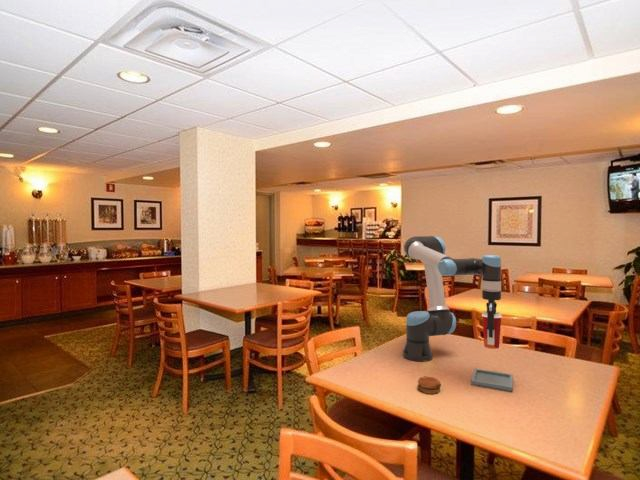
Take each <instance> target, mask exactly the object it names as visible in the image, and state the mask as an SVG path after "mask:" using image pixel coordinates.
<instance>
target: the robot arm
mask: <svg viewBox="0 0 640 480" xmlns="http://www.w3.org/2000/svg"><path fill="white" fill-rule="evenodd" d="M403 250H404V254H405V255H406V256H407V257H409V258H411V259H413V260H419V261H420V262H421V263H422V264H423V265H424V266H423V267H424V273H425V274H424V275H425V281H426V289H427V296H428V297H427V298H428V304H429V308H428V309H427V311H425V310H420V311H419V310H415V311H411V312H409V313H408V314H407V315H406V322H405V323H406V325H405V327H406V333H405V337H406V339H405V343H404V348H403V349H402V356H403V358H404V359H406V360H410V361H413V362H428V361H431V360H433V351H432V348H431V345H430V337H436V336H446V335H451V334H453V333H454V331H455V329H456V326H457V318H456V316H455V314H454V313H453V312H451V311H450V310H451V309H450V308H449V306H447V304H446V294H445V289H444V281H443V276H444V277H452V276H453V277H455V276H472V275H473V276H475V275H476V276H481V277H482V278H481V279H482V280H481V282H480V284H481V286H482V287H481V288H482V291H481V293H482V296H481V297H482V299H483V300H485V301H486V300H487V302H486V305H485V306H486V307H485V308H486V311H487V328H486V329H487V344H489V345H494V314H496V312H497V302H496V301H500V300H502V291H501V290H502V260H501V259H502V258H501V256H499V255H497V254H495V255H494V254H484V255H482V258H475V257H467V258H452V257H451V256H448V255H446V250H447V249H446V244H445V241H444V240H443V239H442V238H441V237H440V236H434V235H431V236H430V235H428V236H427V235H424V236H422V235H421V236H416V235H415V236H411V237H409V238H408V239H407V240H406V241H405V242H404V245H403Z"/></svg>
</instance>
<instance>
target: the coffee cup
mask: <svg viewBox="0 0 640 480" xmlns="http://www.w3.org/2000/svg"><path fill="white" fill-rule="evenodd" d="M481 313H482V314H481V317H482V331H483V346H484V348H486V349H487V348H488V349H494V350H496V349H499V348H500V341H501V340H500V339H501V328H502V327H501V326H502V318H503V315H502V313H500V312H497V311H496V314H494V345H489V344H487V329H486V328H487V310H486V311H483V312H481Z"/></svg>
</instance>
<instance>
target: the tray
mask: <svg viewBox="0 0 640 480" xmlns="http://www.w3.org/2000/svg"><path fill="white" fill-rule="evenodd" d="M513 376H514V375H513V373H506V372H500V371H492V370H487V369H480V368H474V370H473V372H472V376H471V380H470V385H471V386H475V387H479V388H480V387H481V388H486V389H492V390H497V391H503V392H508V393H513V384H514V383H513V382H514V381H513V379H514V377H513Z"/></svg>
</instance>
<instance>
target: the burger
mask: <svg viewBox="0 0 640 480" xmlns="http://www.w3.org/2000/svg"><path fill="white" fill-rule="evenodd" d="M441 387H442V384H441V382H440V380H439V379H438V378H436V377H433V376H426V375H425V376H421V377H419V378H418V381H417V389H418V390H420V392H423V393H424V394H426V395H427V394H428V395H436V394H439V393H440V391H441Z"/></svg>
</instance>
